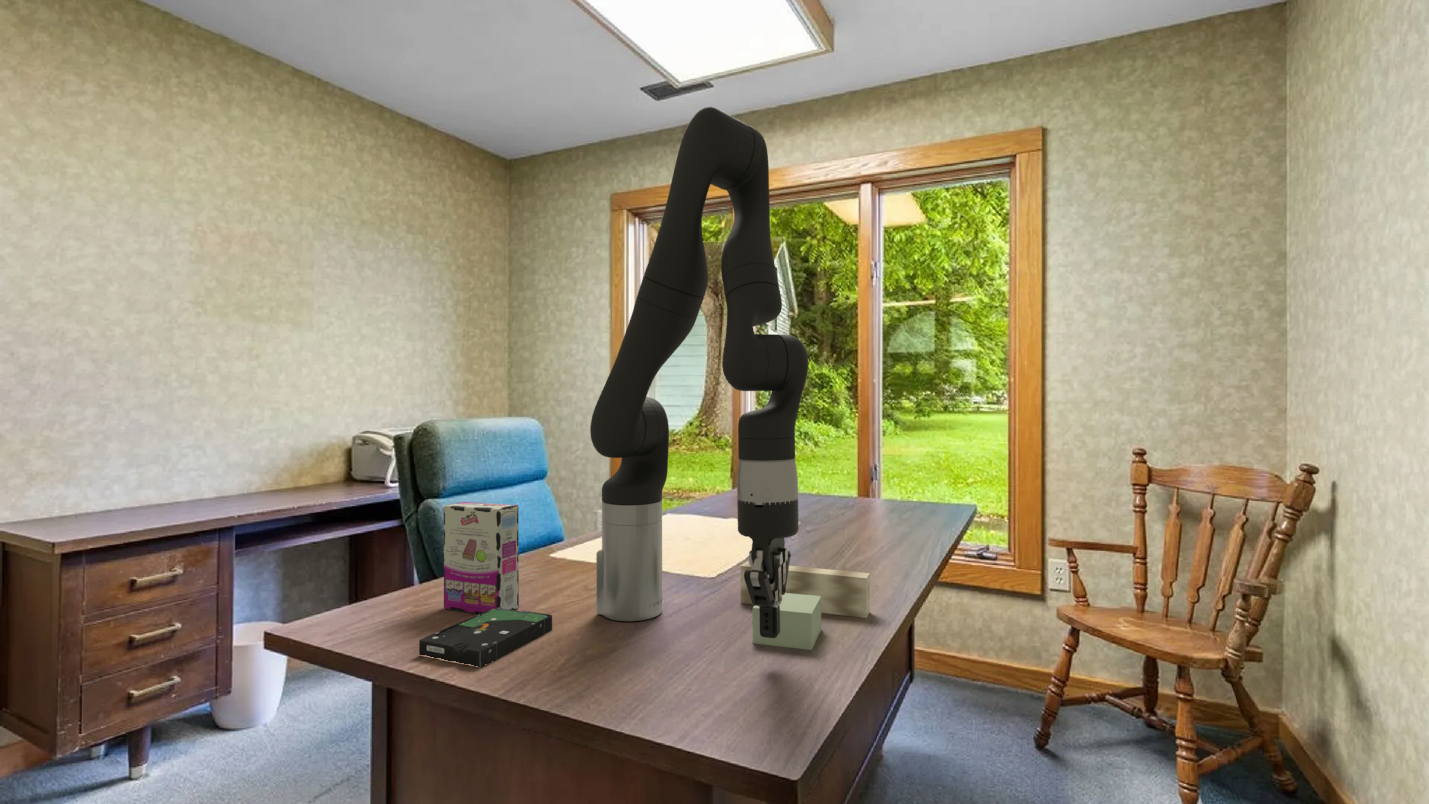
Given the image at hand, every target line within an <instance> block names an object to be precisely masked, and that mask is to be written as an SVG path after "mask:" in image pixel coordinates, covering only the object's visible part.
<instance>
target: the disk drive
mask: <svg viewBox="0 0 1429 804" xmlns="http://www.w3.org/2000/svg"><path fill="white" fill-rule="evenodd" d="M552 631H553V615H552V614H548V613H543V612H536V611H529V610H521V611H520V610H507V609H502V607H501V608H500V607H498V608H496V609H492V610H490V611H485V612H483V613H481V614H477V615H474V616H472V617H469V618H467V619H464V620H463V621H462V620H461V621H460V622H457V623H456V624H453V625H451V626H447V627H446V628H444V629H441V630H439V631H437V632H434V633H431V634H428V635H427V636H425V637H423V638H421V639H419V642H418V644H419V646H418V648H419V649H418V654H419V655H427V656H430V657H434V658H441V659H444V660H448V661H456V662H459V663H464V664H471V665H474V666H478V667H482V666H484V665H485V664H488V665H490V664H492V663H493V662H492V661H494V662H496V661H497V660H499V659H501V658H503V657H504V656H507V655H508V654H510V653H512V652H514V651H515V650H517V649H519V648H522V647H523V646H525V645H527V644H529V643H531V642H532V641H535V640H536V639H538V638H540V637H542V636H544V635H546V634H548V633H550V632H552ZM498 658H499V659H498ZM491 662H492V663H491ZM489 663H490V664H489ZM484 667H485V666H484ZM482 668H483V667H482Z"/></svg>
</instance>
